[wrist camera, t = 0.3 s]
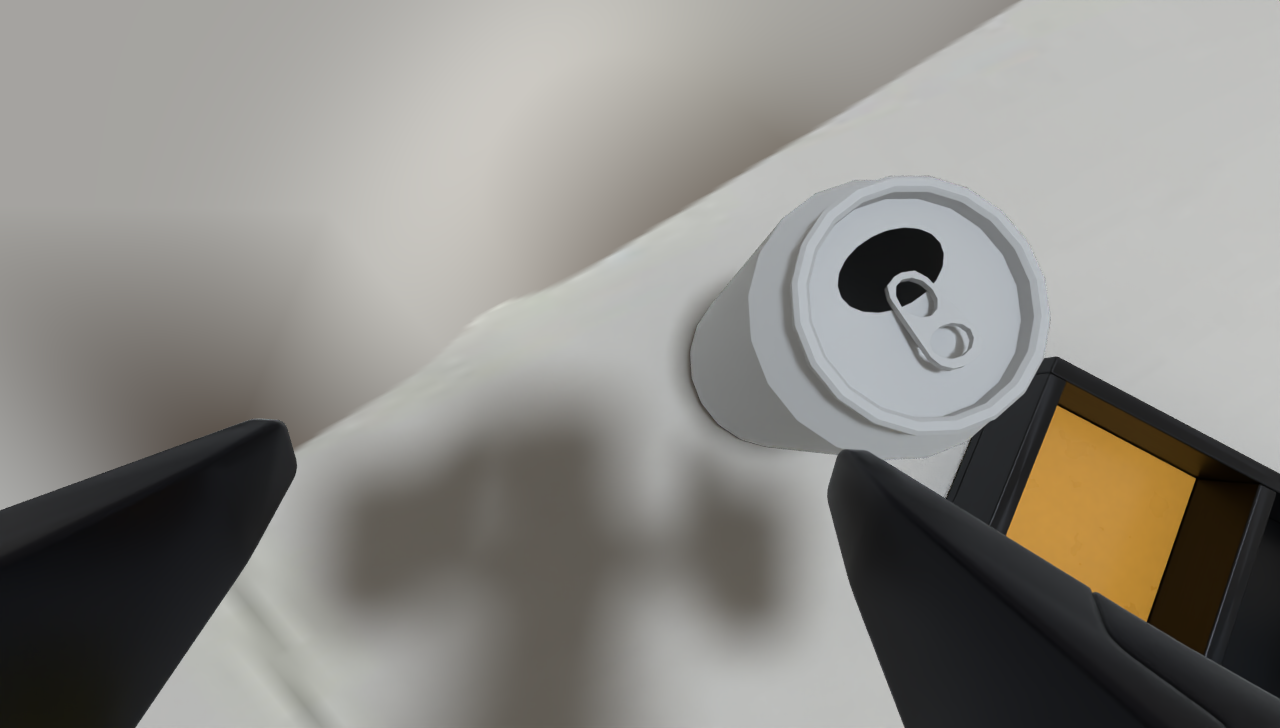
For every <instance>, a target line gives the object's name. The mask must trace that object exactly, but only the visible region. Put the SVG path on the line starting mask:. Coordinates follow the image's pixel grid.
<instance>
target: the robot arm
mask: <svg viewBox="0 0 1280 728" xmlns="http://www.w3.org/2000/svg"><path fill="white" fill-rule="evenodd" d="M296 469H297V462H296V457H295V454H294V450H293V447H292V443H291V440H290V436H289V433H288V429H287V427H286V425H285V424H284V423H283V422H282V421H280V420H271V419H251V420H248V421H245V422H243V423H240V424H237V425H234V426H231V427H229V428H226V429H223V430H220V431H217V432H215V433H212V434H209V435H206V436H204V437H201V438H198V439H195V440H193V441H190V442H187V443H184V444H182V445H179V446H176V447H173V448H171V449H168V450H165V451H162V452H160V453H157V454H154V455H152V456H149V457H146V458H143V459H140V460H138V461H135V462H132V463H130V464H127V465H124V466H121V467H118V468H116V469H113V470H110V471H107V472H105V473H102V474H99V475H97V476H94V477H91V478H88V479H85V480H83V481H80V482H77V483H74V484H71V485H69V486H66V487H63V488H60V489H58V490H55V491H52V492H50V493H47V494H44V495H41V496H39V497H36V498H33V499H30V500H27V501H25V502H22V503H19V504H16V505H14V506H11V507H8V508H5V509H3V510H0V728H135V727H136V726H137V725H138V723H139V722H140V720H141V719H142V717H143V716H144V714H145V713H146V711H147V710H148V708H149V707H150V705H151V704H152V703H153V701H154V700H155V698H156V697H157V695H158V694H159V692H160V691H161V689H162V688H163V686H164V685H165V683H166V682H167V681H168V679H169V678H170V676H171V675H172V673H173V672H174V670H175V669H176V667H177V666H178V664H179V663H180V661H181V660H182V658H183V657H184V656H185V654H186V653H187V651H188V650H189V648H190V647H191V645H192V644H193V642H194V641H195V639H196V638H197V636H198V635H199V634H200V632H201V631H202V629H203V628H204V626H205V625H206V623H207V622H208V620H209V619H210V617H211V616H212V614H213V613H214V612H215V610H216V609H217V607H218V606H219V604H220V603H221V601H222V600H223V598H224V597H225V595H226V594H227V592H228V591H229V590H230V588H231V587H232V585H233V584H234V582H235V581H236V579H237V578H238V576H239V575H240V573H241V572H242V570H243V569H244V567H245V565H246V564H247V562H248V561H249V559H250V557H251V555H252V554H253V552H254V550H255V549H256V547H257V545H258V543H259V541H260V540H261V538H262V536H263V534H264V532H265V530H266V529H267V527H268V525H269V523H270V521H271V519H272V518H273V516H274V514H275V512H276V510H277V508H278V507H279V505H280V503H281V501H282V499H283V497H284V496H285V494H286V492H287V490H288V488H289V486H290V485H291V483H292V481H293V479H294V477H295V474H296ZM827 498H828V504H829V508H830V511H831V515H832V519H833V523H834V527H835V530H836V534H837V538H838V542H839V546H840V549H841V553H842V557H843V561H844V565H845V568H846V572H847V576H848V579H849V582H850V586H851V589H852V591H853V594H854V597H855V600H856V602H857V605H858V608H859V610H860V613H861V616H862V618H863V621H864V623H865V626H866V629H867V631H868V634H869V636H870V639H871V642H872V644H873V647H874V649H875V652H876V655H877V657H878V660H879V662H880V665H881V668H882V670H883V673H884V675H885V678H886V681H887V683H888V686H889V688H890V691H891V694H892V696H893V699H894V701H895V704H896V707H897V709H898V712H899V714H900V717H901V720H902V722H903V725H904V727H905V728H1280V699H1279V698H1277V697H1276V696H1274V695H1272V694H1270V693H1268V692H1267V691H1265V690H1263V689H1261V688H1260V687H1258V686H1256V685H1254V684H1252V683H1251V682H1249V681H1247V680H1245V679H1244V678H1242V677H1240V676H1238V675H1237V674H1235V673H1233V672H1231V671H1229V670H1228V669H1226V668H1224V667H1222V666H1221V665H1219V664H1217V663H1215V662H1214V661H1212V660H1210V659H1208V658H1207V657H1205V656H1203V655H1201V654H1200V653H1198V652H1196V651H1194V650H1193V649H1191V648H1189V647H1187V646H1186V645H1184V644H1182V643H1181V642H1179V641H1177V640H1176V639H1174V638H1172V637H1171V636H1169V635H1167V634H1166V633H1164V632H1162V631H1161V630H1159V629H1157V628H1156V627H1154V626H1152V625H1151V624H1149V623H1147V622H1146V621H1144V620H1142V619H1141V618H1139V617H1137V616H1136V615H1134V614H1132V613H1131V612H1129V611H1127V610H1126V609H1124V608H1122V607H1121V606H1119V605H1118V604H1116V603H1114V602H1113V601H1111V600H1109V599H1108V598H1106V597H1105V596H1103V595H1101V594H1100V593H1098V592H1093V593H1092V591H1091V589H1090V587H1088V586H1087V585H1085V584H1083V583H1082V582H1080V581H1078V580H1077V579H1075V578H1074V577H1072V576H1070V575H1069V574H1067V573H1065V572H1064V571H1062V570H1061V569H1059V568H1057V567H1056V566H1054V565H1052V564H1051V563H1049V562H1048V561H1046V560H1044V559H1043V558H1041V557H1039V556H1038V555H1036V554H1035V553H1033V552H1031V551H1030V550H1028V549H1026V548H1025V547H1023V546H1022V545H1020V544H1018V543H1017V542H1015V541H1013V540H1012V539H1010V538H1009V537H1007V536H1005V535H1004V534H1002V533H1000V532H999V531H997V530H996V529H994V528H992V527H991V526H989V525H987V524H986V523H984V522H983V521H981V520H979V519H978V518H976V517H974V516H973V515H971V514H970V513H968V512H966V511H965V510H963V509H961V508H960V507H958V506H957V505H955V504H953V503H952V502H950V501H948V500H947V499H945V498H944V497H942V496H940V495H939V494H937V493H936V492H934V491H932V490H931V489H929V488H927V487H926V486H924V485H923V484H921V483H919V482H918V481H916V480H914V479H913V478H911V477H910V476H908V475H906V474H905V473H903V472H901V471H900V470H898V469H897V468H895V467H893V466H892V465H890V464H888V463H887V462H885V461H884V460H882V459H880V458H879V457H877V456H875V455H874V454H872V453H871V452H869V451H866V450H856V449H843V450H842V451H840V452H839V454H838V456H837V459H836V462H835V466H834V469H833V472H832V476H831V479H830V483H829V486H828V492H827Z"/></svg>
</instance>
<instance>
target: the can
mask: <svg viewBox="0 0 1280 728" xmlns="http://www.w3.org/2000/svg"><path fill="white" fill-rule="evenodd" d="M1050 321H1051V317H1050V309H1049V302H1048V295H1047V287H1046V280H1045V277H1044V275H1043V272H1042V270H1041V268H1040V266H1039V264H1038V262H1037V259H1036V257H1035V255H1034V253H1033V251H1032V248H1031V246H1030V244H1029V242H1028V240H1027V239H1026V238H1025V237H1024V236H1023V234H1022V233H1021V232H1020V231H1019V230H1018V229H1017V227H1016V226H1015V225H1014V224H1013V223H1012V222H1011V220H1010V219H1009V218H1008V217H1007V216H1006V215H1005V213H1004V212H1003V211H1002V210H1001V209H999V208H998V207H996V206H995V205H993V204H992V203H990V202H989V201H987V200H986V199H984V198H983V197H981V196H980V195H978V194H977V193H975V192H974V191H972V190H970V189H969V188H967V187H964V186H961V185H958V184H954V183H951V182H948V181H945V180H941V179H938V178H935V177H932V176H888V177H885V178H882V179H879V180H854V181H851V182H848V183H845V184H842V185H839V186H836V187H833V188H830V189H827V190H824V191H821V192H818V193H815V194H814V195H813V196H811V197H810V198H809V199H808V200H806V201H805V202H804V203H802V204H801V205H800V206H798V207H797V208H796V209H794V210H793V211H792V212H790V213H789V214H788V215H786V216H785V217H784V218H783V219H782V220H781V221H780V222H779V223H778V225H777V226H776V227H775V228H774V229H773V231H772V232H771V233H770V234H769V235H768V237H767V238H766V239H765V240H764V241H763V243H762V244H761V245H760V246H759V247H758V249H757V250H756V251H755V252H754V253H753V255H752V256H751V257H750V258H749V260H748V261H747V262H746V263H745V264H744V266H743V267H742V268H741V269H740V270H739V272H738V273H737V274H736V275H735V276H734V278H733V279H732V280H731V281H730V282H729V284H728V285H727V286H726V287H725V288H724V290H723V291H722V292H721V293H720V294H719V296H718V297H717V298H716V299H715V300H714V302H713V303H712V304H711V306H710V307H709V309H708V310H707V312H706V313H705V315H704V316H703V318H702V319H701V320H700V322H699V323H698V325H697V328H696V332H695V335H694V339H693V343H692V346H691V350H690V355H691V376H692V380H693V382H694V385H695V388H696V390H697V393H698V396H699V398H700V401H701V403H702V404H703V406H704V407H705V408H706V409H707V411H708V412H709V413H710V415H711V416H712V417H713V418H714V420H715V421H716V422H717V423H718V424H719V425H720V426H722V427H723V428H725V429H726V430H727V431H729V432H730V433H732V434H733V435H735V436H736V437H738V438H739V439H741V440H744V441H748V442H751V443H755V444H758V445H762V446H765V447H772V448H781V449H790V450H798V451H807V452H816V453H825V454H834V455H838V454H839V452H840V451H842V450H843V449H856V450H866V451H869V452H871V453H872V454H874V455H875V456H877V457H879V458H880V459H882V460H891V459H915V458H927V457H930V456H932V455H935V454H937V453H940V452H942V451H945V450H947V449H950V448H952V447H955V446H957V445H960V444H962V443H965V442H967V441H968V440H969V439H970V438H971V437H973V436H974V435H975V434H976V433H977V432H978V431H979V430H980V429H982V428H983V427H984V426H985V425H986V424H987V423H988V422H990V421H992V420H995V419H996V418H997V417H998V416H999V415H1001V414H1002V413H1003V412H1004V411H1005V410H1006V409H1007V408H1008V407H1010V406H1011V405H1012V404H1013V403H1014V402H1015V401H1016V400H1018V399H1019V398H1020V397H1021V396H1022V395H1023V394H1024V393H1025V392H1026V390H1027V388H1028V386H1029V385H1030V383H1031V381H1032V379H1033V377H1034V375H1035V374H1036V372H1037V370H1038V368H1039V366H1040V365H1041V363H1042V361H1043V359H1044V355H1045V349H1046V343H1047V338H1048V332H1049V326H1050Z"/></svg>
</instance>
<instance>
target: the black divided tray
mask: <svg viewBox="0 0 1280 728" xmlns="http://www.w3.org/2000/svg"><path fill="white" fill-rule="evenodd" d="M947 500H948V501H950V502H952V503H953V504H955V505H957V506H958V507H960V508H961V509H963V510H965V511H966V512H968V513H970V514H971V515H973V516H974V517H976V518H978V519H979V520H981V521H983V522H984V523H986V524H987V525H989V526H991V527H992V528H994V529H996V530H997V531H999V532H1000V533H1002V534H1004V535H1005V536H1007V537H1009V538H1010V539H1012V540H1013V541H1015V542H1017V543H1018V544H1020V545H1022V546H1023V547H1025V548H1026V549H1028V550H1030V551H1031V552H1033V553H1035V554H1036V555H1038V556H1039V557H1041V558H1043V559H1044V560H1046V561H1048V562H1049V563H1051V564H1052V565H1054V566H1056V567H1057V568H1059V569H1061V570H1062V571H1064V572H1065V573H1067V574H1069V575H1070V576H1072V577H1074V578H1075V579H1077V580H1078V581H1080V582H1082V583H1083V584H1085V585H1087V586H1088V587H1090V589H1091V591H1092V593H1093V592H1098V593H1100V594H1101V595H1103V596H1105V597H1106V598H1108V599H1109V600H1111V601H1113V602H1114V603H1116V604H1118V605H1119V606H1121V607H1122V608H1124V609H1126V610H1127V611H1129V612H1131V613H1132V614H1134V615H1136V616H1137V617H1139V618H1141V619H1142V620H1144V621H1146V622H1147V623H1149V624H1151V625H1152V626H1154V627H1156V628H1157V629H1159V630H1161V631H1162V632H1164V633H1166V634H1167V635H1169V636H1171V637H1172V638H1174V639H1176V640H1177V641H1179V642H1181V643H1182V644H1184V645H1186V646H1187V647H1189V648H1191V649H1193V650H1194V651H1196V652H1198V653H1200V654H1201V655H1203V656H1205V657H1207V658H1208V659H1210V660H1212V661H1214V662H1215V663H1217V664H1219V665H1221V666H1222V667H1224V668H1226V669H1228V670H1229V671H1231V672H1233V673H1235V674H1237V675H1238V676H1240V677H1242V678H1244V679H1245V680H1247V681H1249V682H1251V683H1252V684H1254V685H1256V686H1258V687H1260V688H1261V689H1263V690H1265V691H1267V692H1268V693H1270V694H1272V695H1274V696H1276V697H1277V698H1279V699H1280V474H1279V473H1277V472H1275V471H1274V470H1272V469H1270V468H1268V467H1266V466H1264V465H1262V464H1260V463H1258V462H1256V461H1255V460H1253V459H1251V458H1249V457H1247V456H1245V455H1243V454H1241V453H1239V452H1238V451H1236V450H1234V449H1232V448H1230V447H1228V446H1226V445H1224V444H1222V443H1220V442H1219V441H1217V440H1215V439H1213V438H1211V437H1209V436H1207V435H1205V434H1203V433H1201V432H1200V431H1198V430H1196V429H1194V428H1192V427H1190V426H1188V425H1186V424H1184V423H1183V422H1181V421H1179V420H1177V419H1175V418H1173V417H1171V416H1169V415H1167V414H1165V413H1164V412H1162V411H1160V410H1158V409H1156V408H1154V407H1152V406H1150V405H1148V404H1146V403H1145V402H1143V401H1141V400H1139V399H1137V398H1135V397H1133V396H1131V395H1129V394H1128V393H1126V392H1124V391H1122V390H1120V389H1118V388H1116V387H1114V386H1112V385H1110V384H1109V383H1107V382H1105V381H1103V380H1101V379H1099V378H1097V377H1095V376H1093V375H1091V374H1090V373H1088V372H1086V371H1084V370H1082V369H1080V368H1078V367H1076V366H1074V365H1072V364H1071V363H1069V362H1067V361H1065V360H1063V359H1061V358H1059V357H1050V358H1044V359H1043V361H1042V363H1041V365H1040V366H1039V368H1038V370H1037V372H1036V374H1035V375H1034V377H1033V379H1032V381H1031V383H1030V385H1029V386H1028V388H1027V390H1026V392H1025V393H1024V394H1023V395H1022V396H1021V397H1020V398H1019V399H1018V400H1016V401H1015V402H1014V403H1013V404H1012V405H1011V406H1010V407H1008V408H1007V409H1006V410H1005V411H1004V412H1003V413H1002V414H1001V415H999V416H998V417H997V418H996V419H995V420H992V421H990V422H988V423H987V424H986V425H985V426H984V427H983V428H982V429H980V430H979V431H978V432H977V433H976V434H975V435H974V436H973V437H972V440H971V442H970V445H969V447H968V449H967V452H966V454H965V457H964V459H963V461H962V464H961V466H960V469H959V471H958V473H957V476H956V478H955V481H954V483H953V485H952V488H951V490H950V493H949V495H948V497H947Z"/></svg>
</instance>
